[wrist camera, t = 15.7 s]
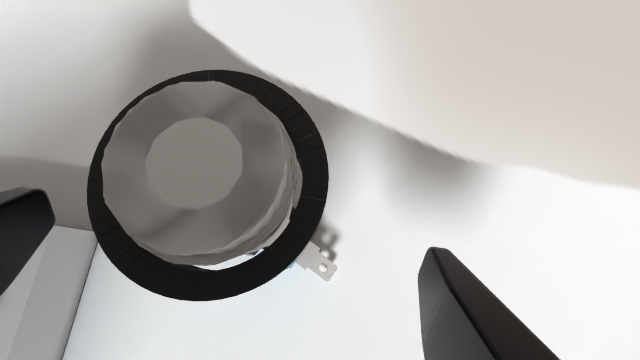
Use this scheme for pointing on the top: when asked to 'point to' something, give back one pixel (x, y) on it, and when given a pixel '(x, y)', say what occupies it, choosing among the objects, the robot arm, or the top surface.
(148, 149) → the push button
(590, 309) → the top surface
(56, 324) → the grey tray
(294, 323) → the top surface
